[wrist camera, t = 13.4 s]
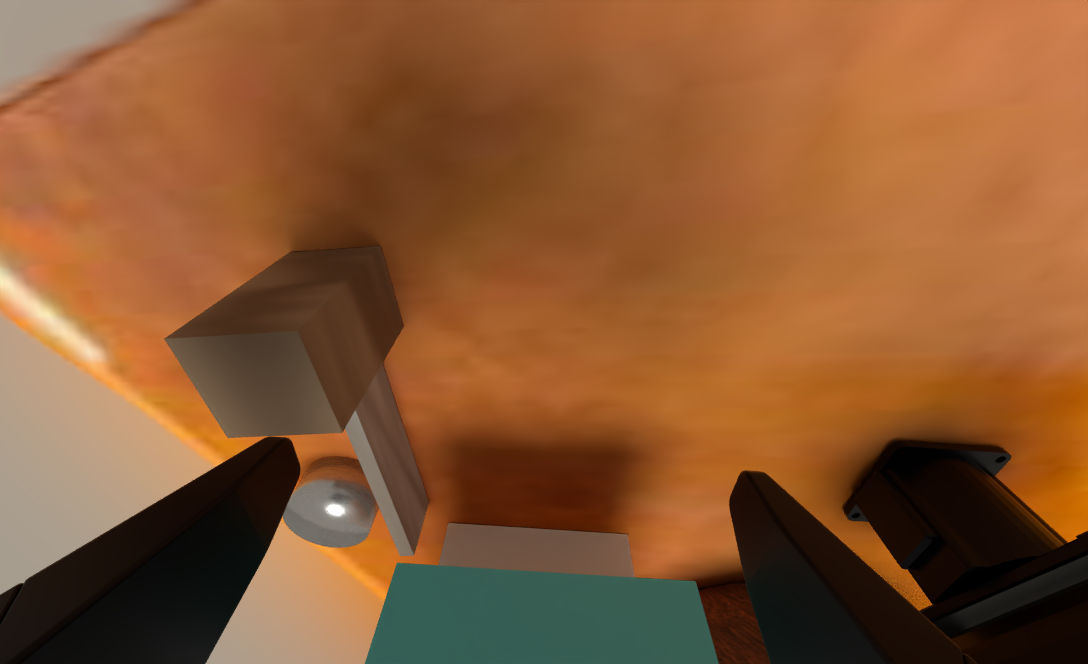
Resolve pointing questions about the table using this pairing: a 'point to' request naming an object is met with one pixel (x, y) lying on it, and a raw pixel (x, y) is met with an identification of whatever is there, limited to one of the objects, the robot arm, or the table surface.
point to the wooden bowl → (733, 625)
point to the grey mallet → (312, 367)
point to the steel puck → (332, 504)
